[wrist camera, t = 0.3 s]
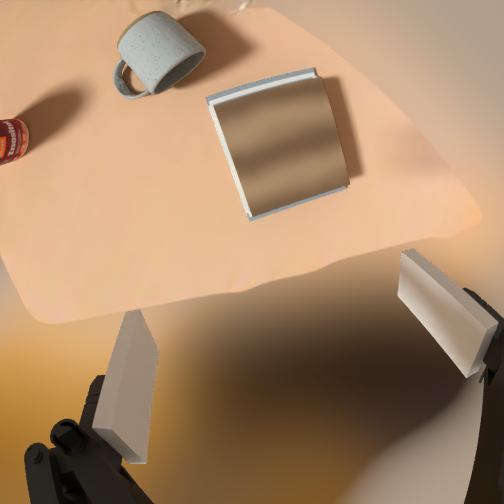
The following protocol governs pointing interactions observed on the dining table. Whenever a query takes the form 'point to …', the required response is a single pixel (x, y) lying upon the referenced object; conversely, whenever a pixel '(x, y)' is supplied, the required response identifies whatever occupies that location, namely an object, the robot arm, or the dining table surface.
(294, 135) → the walnut slab
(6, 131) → the pill bottle
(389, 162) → the dining table surface
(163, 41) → the ceramic mug
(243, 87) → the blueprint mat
